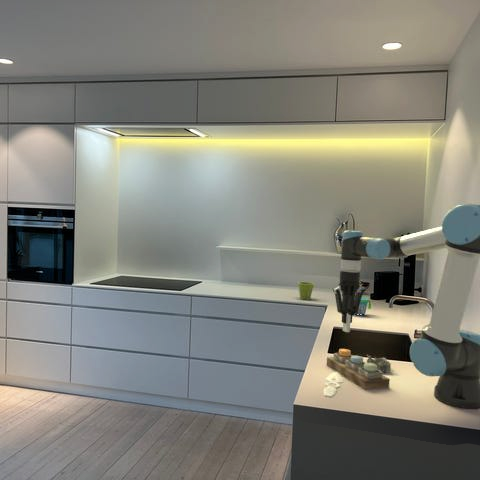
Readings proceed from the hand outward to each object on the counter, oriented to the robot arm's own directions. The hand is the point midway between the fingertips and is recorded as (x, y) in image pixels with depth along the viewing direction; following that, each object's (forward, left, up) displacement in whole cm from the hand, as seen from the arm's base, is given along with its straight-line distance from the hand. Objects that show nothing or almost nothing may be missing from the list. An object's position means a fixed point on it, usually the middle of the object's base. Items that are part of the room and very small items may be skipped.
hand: (346, 331), depth 179 cm
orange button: (0, 0, -10) cm, 10 cm away
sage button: (-17, 0, -10) cm, 20 cm away
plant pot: (+137, -52, -15) cm, 147 cm away
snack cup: (+87, -63, -15) cm, 108 cm away
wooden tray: (-8, 0, -14) cm, 17 cm away
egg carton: (-2, -14, -15) cm, 21 cm away
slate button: (-9, 0, -10) cm, 13 cm away
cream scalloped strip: (-13, +12, -15) cm, 24 cm away
